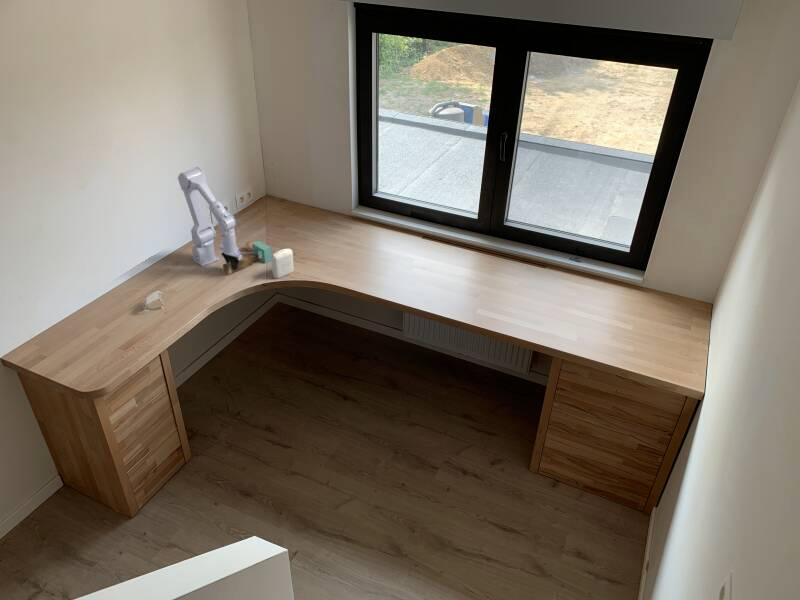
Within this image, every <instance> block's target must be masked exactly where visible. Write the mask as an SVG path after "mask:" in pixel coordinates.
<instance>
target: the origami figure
mask: <svg viewBox="0 0 800 600" xmlns="http://www.w3.org/2000/svg"><path fill="white" fill-rule="evenodd" d="M159 294H160V295H159ZM162 295H163V292H161V291H159V289H158V290H156V291H153V292H152V293H151V294H149V295H148V296H147V297H146V298H145V300H144V303H145V306H144V308H143V311H144V312H147V314H149V312H150V310H148V309H147V310H146V308H148V307H150V304H151V303H154V302H156V301H159V302H160V303H161V304H160V306H159V307H160V308H161V309H163V310H164V307H163V306H165V303H164V302H163V299H162Z"/></svg>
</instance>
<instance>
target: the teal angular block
mask: <svg viewBox="0 0 800 600" xmlns="http://www.w3.org/2000/svg"><path fill="white" fill-rule="evenodd" d="M253 242H254V243H252V248H253V252H252V254H253V255H255V254H257V255H259V257H261V259H262V262H263V263H264V264H266V263H269V262H272V255H273V254H272V248H271V246H269V245H267V244H266V243H264V242H262V241H261V240H257V241H253Z"/></svg>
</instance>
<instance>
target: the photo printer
mask: <svg viewBox="0 0 800 600" xmlns="http://www.w3.org/2000/svg"><path fill="white" fill-rule="evenodd" d="M271 255H272V260H271V268H272V269H271V270H272V275H273V278H274V279H281V278H283V277H285V276H287V275H290V274H292V273H293V272H294V271H295V269H294V253H293V250H292V249H290V248H283V249H280V250H278V251H276V252H275V253H273V254H271Z"/></svg>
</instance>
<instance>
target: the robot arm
mask: <svg viewBox="0 0 800 600" xmlns="http://www.w3.org/2000/svg"><path fill="white" fill-rule="evenodd" d="M177 179H178V182H179V186H180V189H181V191H183V194H184V198H185V200H186V204H187V206H188V209H189V213H190V215H191V218H192V221H193V224H194V225H192V228H191V229H190V232H191V233H190V234H191V239H192V243H194V246H193V247H191V250H192V256H193V257H192V259H193V260H192V261H193V262H195V263H196V264H197V265H199V266H201V267H204V266H206V265H209V264H211V263H215V262H217V261H219V260H220V257H218V256H216V253H215V245H214V244H215V243H214V242H215V239H216V238H217V232H216V230H215V228H214V226H213V224H212V223H210V222H207V220H206V217H205V214H204V211H203V209H202V205H201V201H200V199H199V196H198V192H199V194H200V195H201V196H202V197H203V199H204V200H205V201H206V202H207V204H208V206H209V207H208V209H209V211H210V212H211V214H212V215H213V217H214V218H215V220H216V221H217V224H216V226H217V228H218V230H219V233H220V234H221V238H222V243H221V244H219V249H220V250H221V251H222V252H221V256H222V257H223V259H224V260H225V264H226V263H229V262H231V265H232V269H233V270H236V269H237V268H238V263H239V260H241V259H242V257H243V255H242V254H241V252H240V251H239V250H240V247H238V246H237V239H236V232H235V228H236V226H237V220H236V217H235V216H234V215H232V214H231V213H230V212H228V211H227V210H226V208H225V207H224V205H223V203H222V202H221V201H219V200H217V199H216V198H215V196H214V194H213V192H212V190H211V188H210V186H208V183H207V182H206V181H207V176H206V174H205V171H203V169H202V168H201V167H198V166H197V167H195V168H192V169H189V170H186V171H185V172H180V173H179V175H178V177H177ZM197 191H198V192H197Z"/></svg>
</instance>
